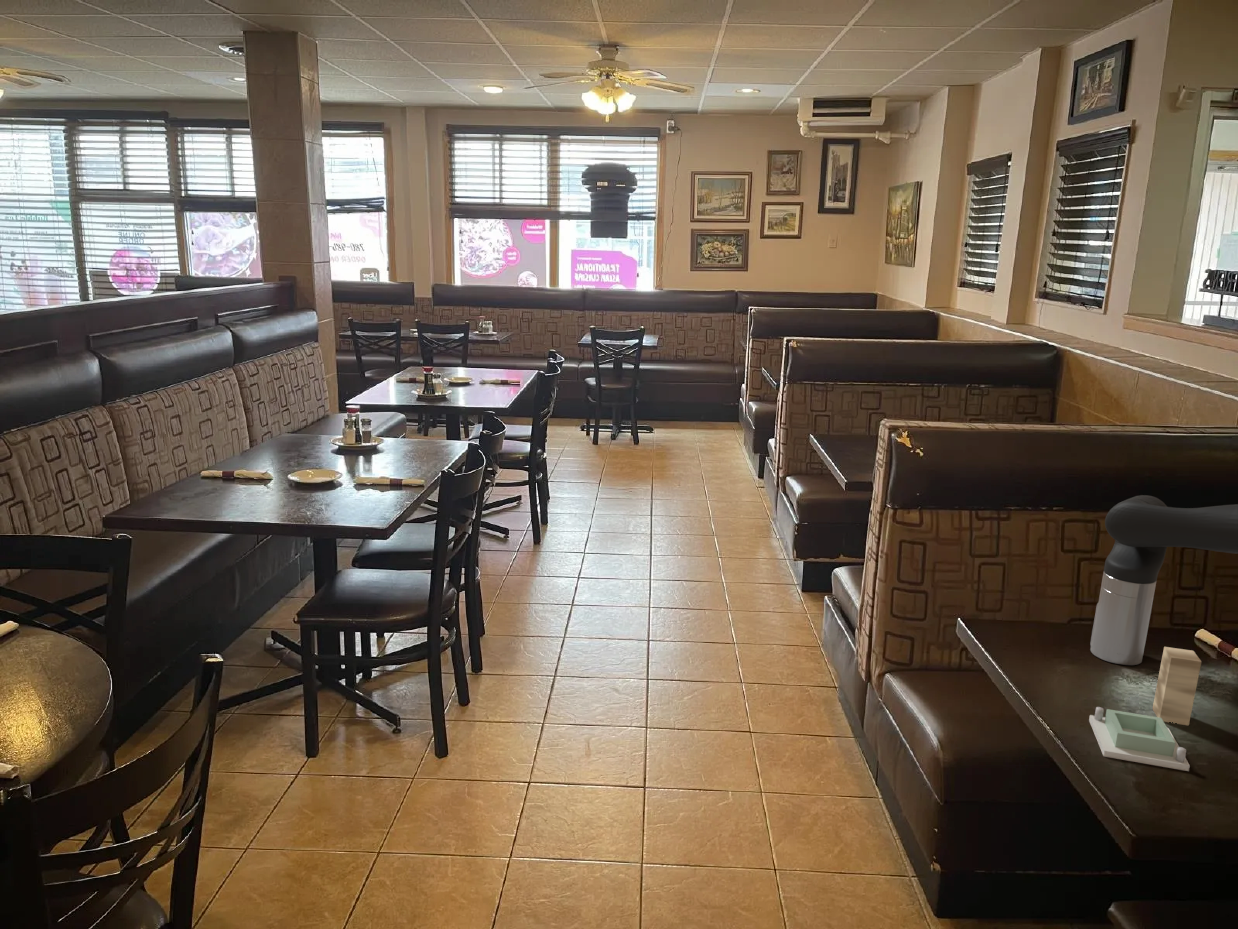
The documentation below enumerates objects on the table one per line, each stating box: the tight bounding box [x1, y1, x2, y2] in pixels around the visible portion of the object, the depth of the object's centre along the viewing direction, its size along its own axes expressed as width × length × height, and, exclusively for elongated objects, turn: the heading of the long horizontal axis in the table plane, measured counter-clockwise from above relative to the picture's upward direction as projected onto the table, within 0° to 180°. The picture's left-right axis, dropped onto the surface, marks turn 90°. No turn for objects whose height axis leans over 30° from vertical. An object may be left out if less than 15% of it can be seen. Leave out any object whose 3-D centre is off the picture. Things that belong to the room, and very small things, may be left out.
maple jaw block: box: [1152, 646, 1202, 726], centre depth 153 cm, size 4×4×12 cm
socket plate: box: [1088, 706, 1191, 772], centre depth 144 cm, size 12×12×4 cm
